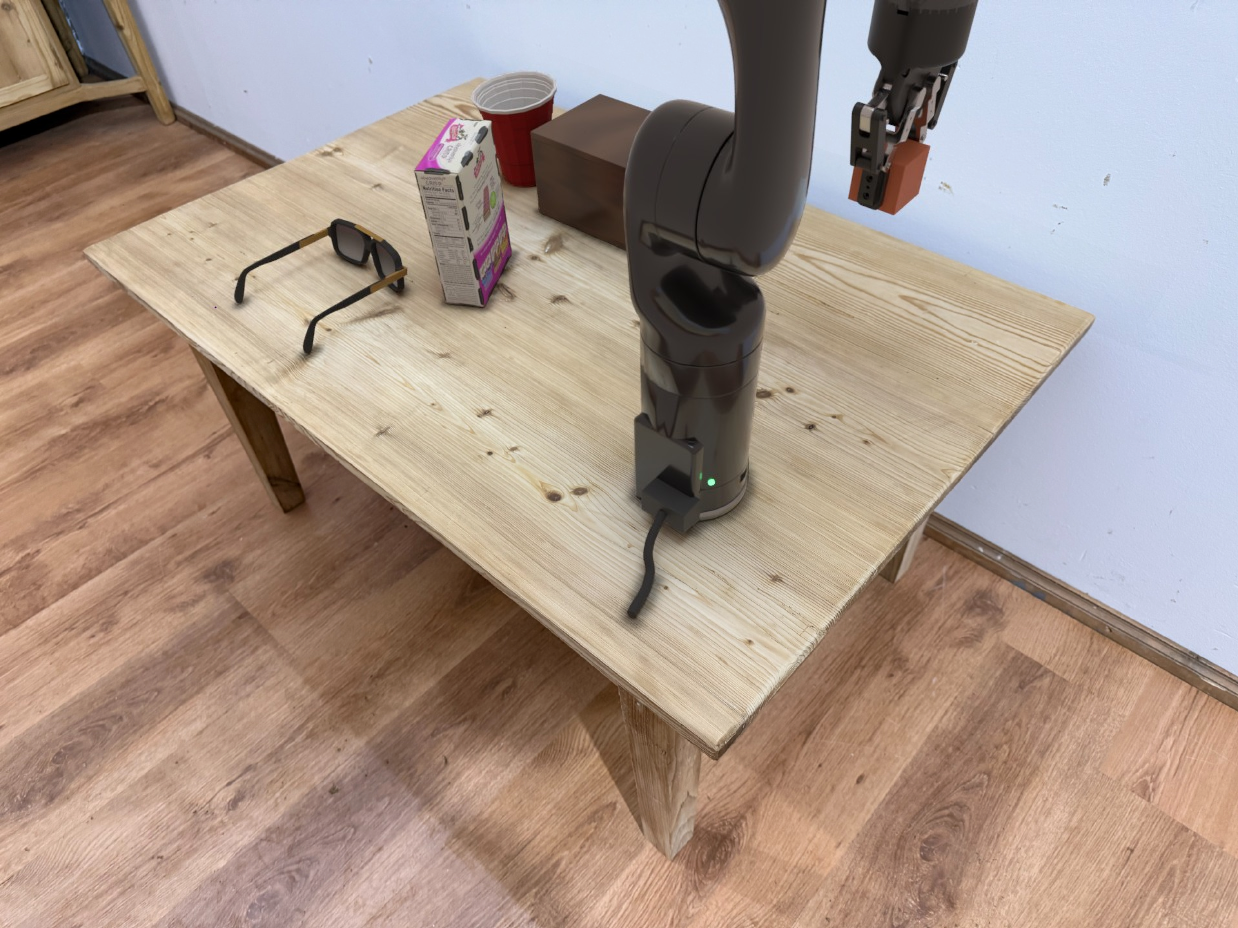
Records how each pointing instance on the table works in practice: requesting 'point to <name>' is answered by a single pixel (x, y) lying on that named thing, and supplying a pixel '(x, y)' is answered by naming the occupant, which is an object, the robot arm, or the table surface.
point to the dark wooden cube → (587, 165)
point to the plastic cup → (516, 118)
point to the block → (899, 176)
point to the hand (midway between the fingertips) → (883, 193)
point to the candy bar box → (465, 210)
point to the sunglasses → (352, 247)
